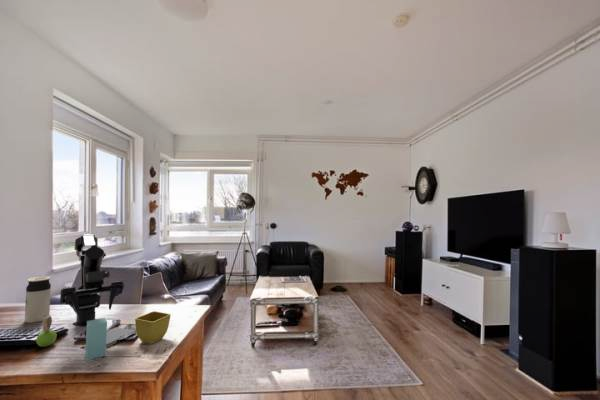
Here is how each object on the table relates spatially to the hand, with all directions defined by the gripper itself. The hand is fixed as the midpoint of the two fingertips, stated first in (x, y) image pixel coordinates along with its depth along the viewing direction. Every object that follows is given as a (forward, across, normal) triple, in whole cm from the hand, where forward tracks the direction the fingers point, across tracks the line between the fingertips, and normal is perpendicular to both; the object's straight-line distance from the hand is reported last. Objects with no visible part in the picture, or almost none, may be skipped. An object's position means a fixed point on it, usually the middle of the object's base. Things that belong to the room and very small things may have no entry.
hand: (94, 311), depth 101 cm
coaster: (+6, +6, +12) cm, 15 cm away
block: (+13, 0, +4) cm, 14 cm away
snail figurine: (0, -12, +17) cm, 21 cm away
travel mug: (-24, -15, +42) cm, 51 cm away
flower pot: (+14, +17, +4) cm, 23 cm away
